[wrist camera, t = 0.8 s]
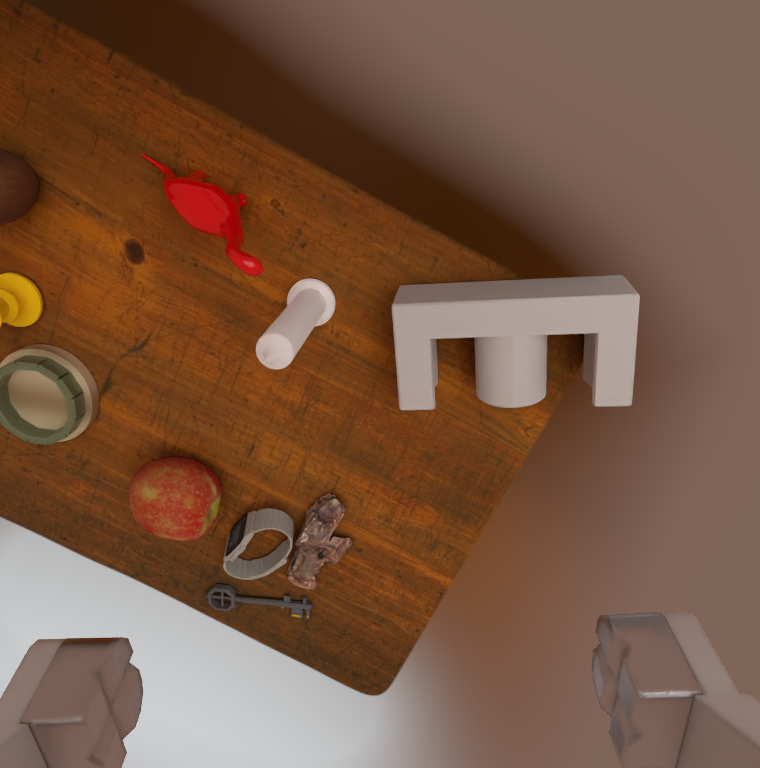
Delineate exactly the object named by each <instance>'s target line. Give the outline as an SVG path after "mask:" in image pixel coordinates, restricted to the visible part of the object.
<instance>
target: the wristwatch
mask: <svg viewBox="0 0 760 768" xmlns="http://www.w3.org/2000/svg"><path fill="white" fill-rule="evenodd" d="M265 529H274V530H278V531H281V532H283V533H285V534H286V535H287V536H288V539H287V540H285V541H284V542H283V543H282V544H280V545H279V546H278V547H277V548H276V550H275V551H274V552H272V553H271V554H269V555H267V556H266V557H263V558H260V559H254V560H252V561H247V560H242V559H240V558H238V557H237V556H238V555H239V554H240V553H242V552H243V551H244V550H245V548H246V546H247V544H248V542H249V540H250V539H251V538H252V536H253V535H254V533H256V532H259V531H261V530H265ZM293 533H294V524H293V521H292V519H291V518H290V516H288V515H287V514H286V513H284V512H282V511H280V510H277V509H270V508H268V509H262V510H258V511H257V512H256V511H252V512H247V513H246V514H245V515H244V516H243V517H242V518H241V519H240V520H239V521H238V522H237V523H236V524H235V525H234V526H233V528H232V530H231V531H230V534H229V536H228V539H227V544H226V548H225V553H224V558H223V560H224V564H223V567H224V570H225V571H226V573H227V574H229V575H230V576H232V577H234V578H239V579H245V580H249V579H257V578H260V577H263V576H266V575H268V574H270V573H272V572H273V571H275V570H276V569H277V568H279V567H281V566H282V565H284V564H285V563H286V562H287V557H288V554H289V553H290V551H291V549H292V543H293Z"/></svg>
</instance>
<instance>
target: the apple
mask: <svg viewBox="0 0 760 768" xmlns="http://www.w3.org/2000/svg"><path fill="white" fill-rule="evenodd" d="M221 493H222V489H221V484H220V482H219V480H218V478H217V476H216V475H215V474H214V473H213V472H212V471H211V470H210V469H209V468H208V467H207V466H205V465H203V464H202V463H200V462H197V461H195V460H192V459H188V458H181V457H165V458H160V459H156V460H153V461H151V462H149V463H147V464H145V465H144V466H143V467H141V468H140V470H139V471H138V472H137V473H136V475H135V476H134V478H133V479H132V482H131V485H130V490H129V503H130V507H131V511H132V514H133V516H134V518H135V519H136V521H137V522H138V523H139V524H140V525H141V526H142V527H143V528H144V529H146V530H147V531H149V532H151V533H152V534H154V535H156V536H159V537H162V538H165V539H169V540H175V541H189V540H193V539H196V538H199V537H201V536H203V535H204V534H205V533H207V532H208V531H209V530H210V528H211V527H212V525H213V523H214V521H215V519H216V517H217V513H218V509H219V504H220V500H221Z"/></svg>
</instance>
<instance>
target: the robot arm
mask: <svg viewBox="0 0 760 768" xmlns="http://www.w3.org/2000/svg"><path fill="white" fill-rule="evenodd" d="M596 633H597V636H598V639H599V641H600V644H599V645H598V646H597V647H596V648H595V649H594V650H593V658H592V672H593V682H594V686H595V690H596V694H597V698H598V701H599V704H600V707H601V708H602V709H603V710H604V711H605V712H606V713H607V714H609V715H610V716H611V717H612V718H611V724H610V731H609V733H610V736H611V739H612V742H613V745H614V747H615V751H616V753H617V756H618V759H619V762H620V765H621V767H622V768H760V701H758V700H757V699H755V698H754V697H753V696H751V695H750V694H748V693H738V691H737V689H736V688H735V686H734V684H733V682H732V681H731V679H730V677H729V675H728V673H727V672H726V670H725V668H724V666H723V665H722V663H721V661H720V659H719V658H718V656H717V654H716V652H715V650H714V649H713V647H712V645H711V644H710V642H709V640H708V638H707V636H706V635H705V633H704V631H703V629H702V627H701V626H700V624H699V622H698V620H697V619H696V617H695V616H694V615H693V614H692V613H691V612H690V611H683V612H663V613H662V612H661V613H656V612H655V613H638V614H620V615H602V616H600V617H599V619H598V621H597V628H596ZM132 653H133V650H132V647H131V645H130V642H129V639H128V638H69V639H68V638H67V639H40V640H37V641H36V642H35V643H34V644H33V645H32V646H31V647H30V648H29V649H28V651H27V653H26V655H25V656H24V658H23V660H22V662H21V663H20V665H19V667H18V669H17V670H16V672H15V674H14V676H13V678H12V679H11V681H10V683H9V685H8V686H7V688H6V690H5V692H4V693H3V695H2V697H1V699H0V768H121V767H122V764H123V761H124V759H125V756H126V753H127V752H126V749H125V746H124V743H123V740H122V739H124V738H125V737H126V736H127V735H128V734H129V733H130V732H131V731H132V730H133V729H134V728H135V727H136V724H137V721H138V718H139V714H140V711H141V704H142V697H143V687H142V679H141V675H140V672H139V669H137V668H136V667H135V666H133V665H132V664H130V663H129V661H130V659H131V656H132Z"/></svg>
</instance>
